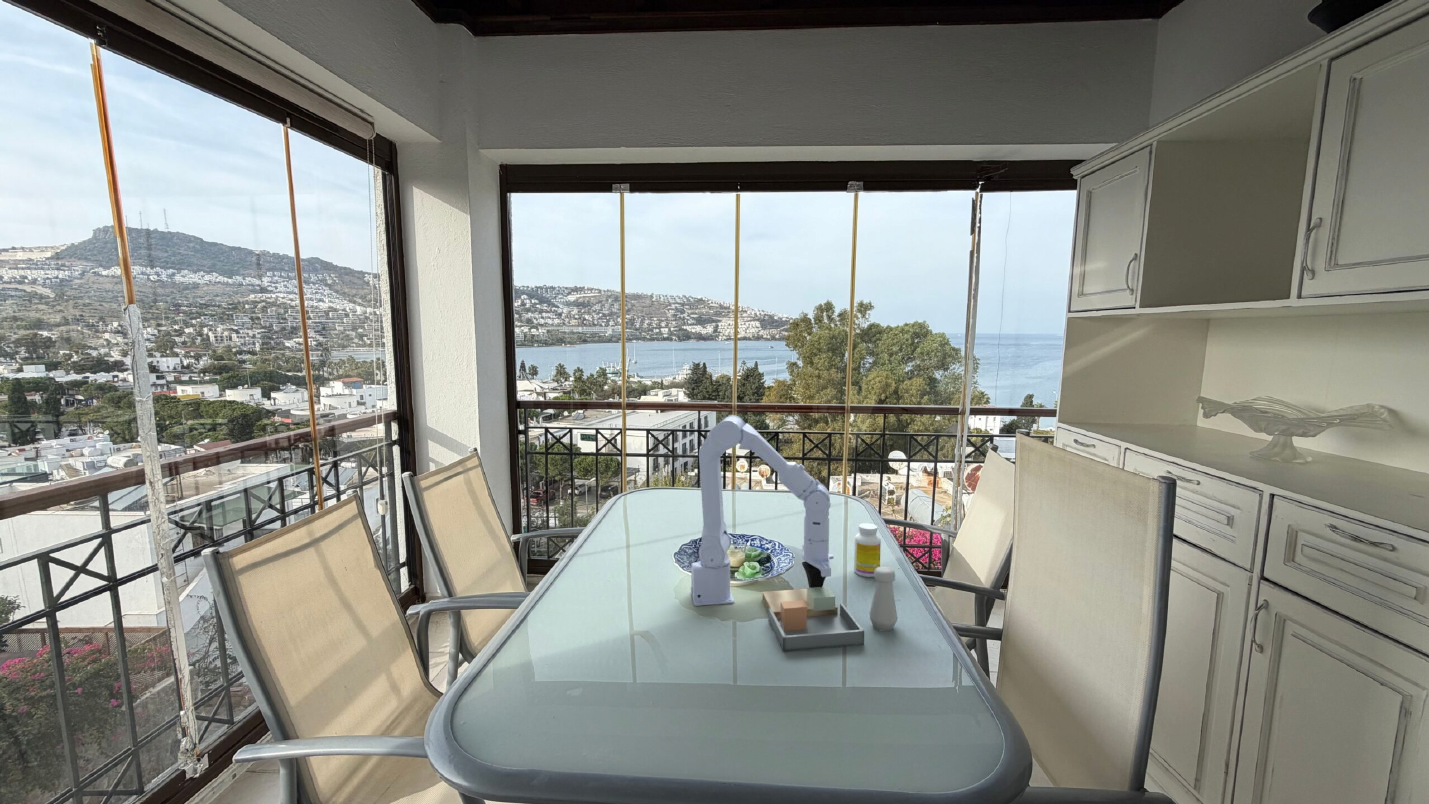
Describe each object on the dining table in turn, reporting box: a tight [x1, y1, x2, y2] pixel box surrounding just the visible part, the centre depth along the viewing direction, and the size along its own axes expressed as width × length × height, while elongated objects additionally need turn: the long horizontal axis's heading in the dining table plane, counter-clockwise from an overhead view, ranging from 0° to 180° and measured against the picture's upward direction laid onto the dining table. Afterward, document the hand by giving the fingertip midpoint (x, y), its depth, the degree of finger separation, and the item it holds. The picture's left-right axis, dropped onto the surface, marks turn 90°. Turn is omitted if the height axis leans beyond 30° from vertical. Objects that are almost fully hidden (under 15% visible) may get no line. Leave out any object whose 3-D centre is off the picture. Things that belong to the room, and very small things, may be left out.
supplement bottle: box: [853, 523, 882, 578], centre depth 147 cm, size 7×7×13 cm
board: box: [762, 588, 839, 619], centre depth 129 cm, size 15×10×2 cm, turn 98°
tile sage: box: [806, 586, 836, 611], centre depth 126 cm, size 5×5×3 cm
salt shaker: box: [869, 566, 898, 632], centre depth 120 cm, size 6×6×13 cm
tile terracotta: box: [780, 600, 807, 631], centre depth 119 cm, size 5×5×3 cm
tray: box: [768, 602, 865, 653], centre depth 118 cm, size 17×12×3 cm
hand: (815, 593), depth 130 cm, fingers closed
